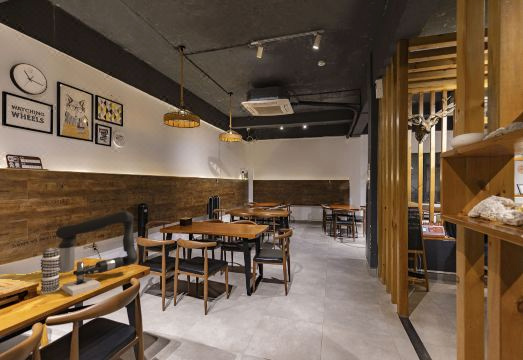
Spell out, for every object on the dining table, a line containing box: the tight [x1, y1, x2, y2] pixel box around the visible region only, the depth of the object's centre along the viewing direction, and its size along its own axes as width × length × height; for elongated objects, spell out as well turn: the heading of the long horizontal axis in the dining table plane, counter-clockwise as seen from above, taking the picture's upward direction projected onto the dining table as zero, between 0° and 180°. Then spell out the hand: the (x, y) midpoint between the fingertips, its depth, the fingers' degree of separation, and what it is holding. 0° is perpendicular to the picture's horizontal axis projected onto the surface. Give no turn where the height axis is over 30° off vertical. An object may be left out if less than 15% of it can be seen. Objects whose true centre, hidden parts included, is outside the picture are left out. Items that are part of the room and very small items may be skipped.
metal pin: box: [76, 261, 85, 285], centre depth 150 cm, size 4×4×14 cm
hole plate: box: [61, 276, 101, 297], centre depth 149 cm, size 16×14×3 cm
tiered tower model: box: [40, 247, 61, 295], centre depth 146 cm, size 9×9×25 cm
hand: (74, 273), depth 147 cm, fingers closed on metal pin, 3 cm apart
